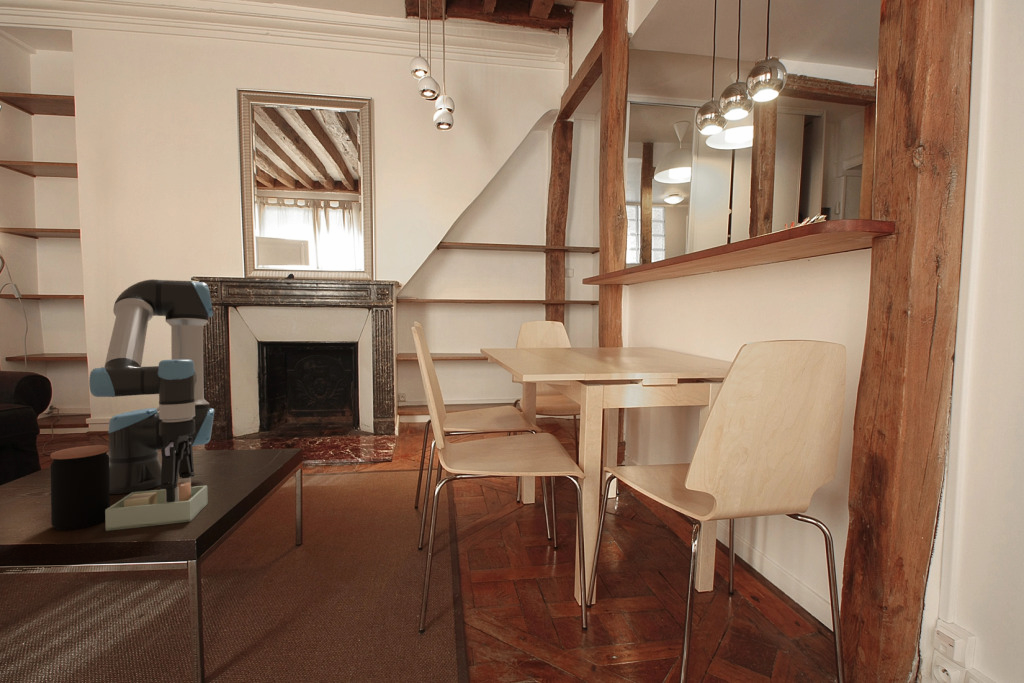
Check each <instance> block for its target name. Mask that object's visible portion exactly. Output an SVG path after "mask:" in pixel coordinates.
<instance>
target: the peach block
mask: <svg viewBox="0 0 1024 683" xmlns="http://www.w3.org/2000/svg"><path fill="white" fill-rule="evenodd" d="M177 487H179V502H182V501H188V500H190V499H191V487H192V482H191V483H190V482H179V483H178V482H177Z"/></svg>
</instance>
